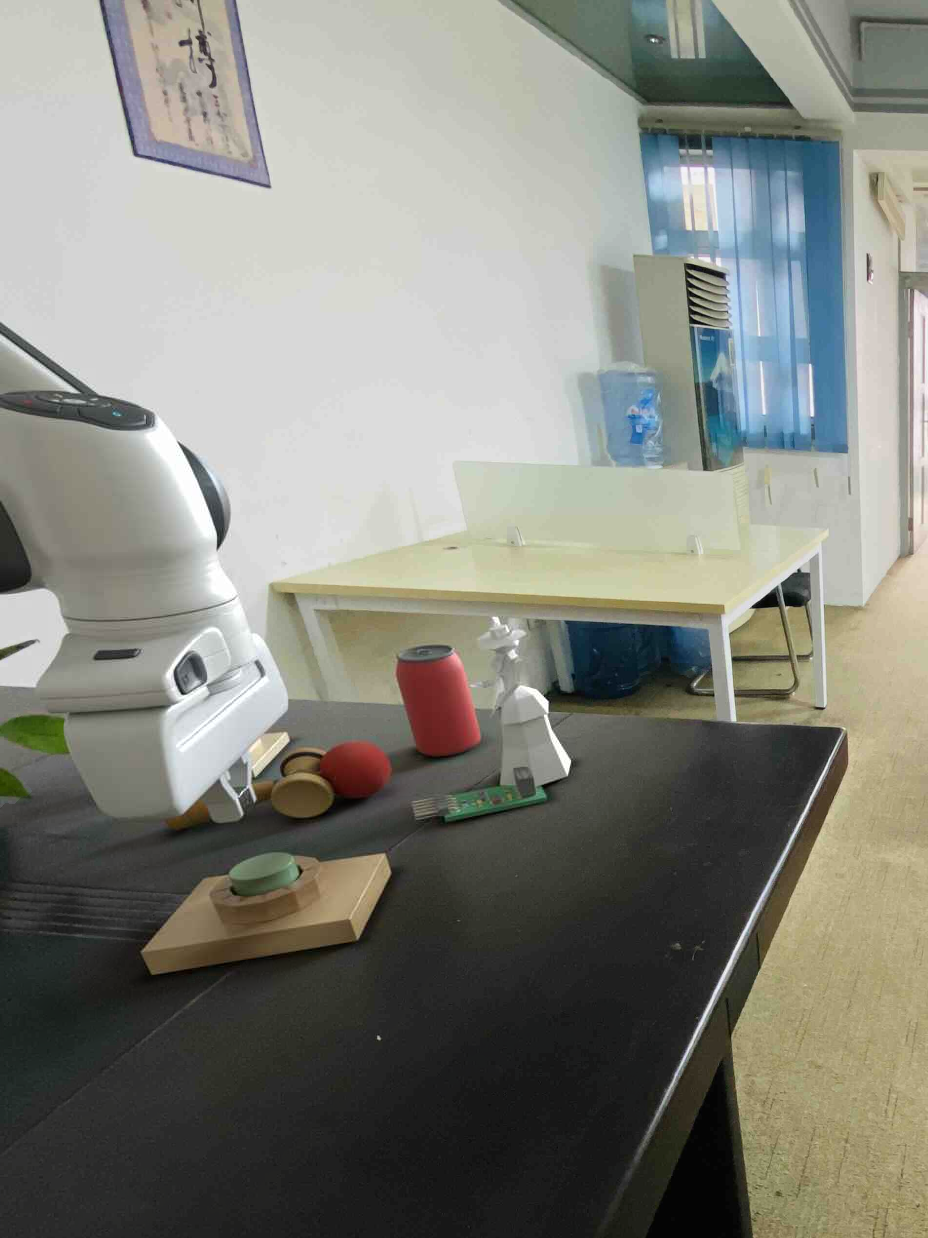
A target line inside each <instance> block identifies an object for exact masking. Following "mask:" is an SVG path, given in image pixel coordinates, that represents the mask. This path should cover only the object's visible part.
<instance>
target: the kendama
mask: <svg viewBox="0 0 928 1238" xmlns="http://www.w3.org/2000/svg"><path fill="white" fill-rule="evenodd" d="M392 770H393V769H392V766H391V762H390V760H389V758H388V756H387V754H386V753H385V752H384V751H383V750H382V749H381V748H380V747H378V746H376V745H374V744H372V743H370V742H366V741H347V742H342V743H339V744H338V745H335V746H333V747H332V748H330V749H329V750H327V751H325V750H323V749H320V748H317V747H310V746H309V747H298V748H295V749H293V750H290V751H289V752H287V753H286V754H285V755H284V756H283V757H282V759H281V761H280V764H279V772H280V775H281V776H282V778H279V779H274V780H269V781H263V782H256V783H251V785H252V788H253V791H254V793H255V796H256V802H255V803H254V804H253V805H252V806H251V807H253V806H256V805H259V804H261V803H264V802H266V801H269V800H270V801H271V804H272V807H273V808H274V809H275V810H276V811H277V812H279V813H280V814H282V815H284V816H287V817H291V818H296V819H309V818H313V817H316V816H320V815H322V814H323V813H325V812H326V811H328V810H329V808H330V807H331V806H332V804H333V801H334V797H335V795H336V796H339V797H342V798H345V799H362V798H366V797H369V796H372V795H374V794H376V793H378V792H379V791H381V790H382V789H383V788H384V787H385V786H386V785H387V783H388V782H389V780H390V778H391V776H392ZM163 820H164V822H165V823H166V824H167V826H168V827H169V828H170V829H171V830H173V831H174V832H175V831H176V832H178V831H181V830H185V829H186V828H189V827H193V826H195V825H198V824H201V823H204V822H207V821H210V820H212V819H211V816H210V814H209V812H208V809H207V807H206V805H205V804H204V803H202V802H201V801H200V800H199V799H198V800H197V801H196V802H195V803H194V804H193V805H192V806H191V807H190V808H189V809H188V810H187V811H186V812H185V813H184V814H182V815H181V816H178V817H175V818H169V819H163Z"/></svg>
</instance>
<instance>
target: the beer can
mask: <svg viewBox="0 0 928 1238" xmlns="http://www.w3.org/2000/svg"><path fill="white" fill-rule="evenodd" d="M395 657H396V659H397V661H396V662H397V663H396V666H395V667H396V668H395V678H396V681H397V685H398V687H399V692H400V694H401V699H402V702H403V705H404V709H405V713H406V716H407V720H408V723H409V726H410V730H411V733H412V737H413V741H414V744H415V747H416V750H417V751H418V752H419V753H421V754H422V755H425V756H429V757H449V756H456V755H458V754H462V753H465V752H468V751H470V750H472V749H473V748H476V746H478V744H479V743H480V742H481V739H482V735H481V731H480V727H479V722H478V718H477V714H476V711H475V706H474V703H473V698H472V694H471V690H470V685H469V683H468V678H467V674H466V670H465V665H464V663H463V661H462V660H461V659H460V657H459V656H458V655H457V653H456V652H455V648H454V647H453V646H451V645H446V644H426V645H425V644H423V645H419V646H413V647H409V648H405V649H403V650H401V651H400V652H398V653H397V654H396V656H395Z"/></svg>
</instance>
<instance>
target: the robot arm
mask: <svg viewBox="0 0 928 1238" xmlns="http://www.w3.org/2000/svg"><path fill="white" fill-rule="evenodd" d="M231 513H232V509H231V502H230V498H229V495H228V492H227V490H226V488H225V485H224V484H223V482H222V481H221V480H220V478H219V476H218V475H217V474H216V473H215V472H214V470H213V469H212V468H211V467H210V466H209V465H208V464H207V463H206V462H205V461H204V460H203V459H202V458H201V457H200V456H198V455H197V453H195V452H194V451H192V449H190V448H189V447H187V446H186V445H184V444H183V443H181V442H180V441H178V440H176V437H175V435H173V433H172V432H171V430H170V428H168V426H167V425H166V424H165V422H164V421H163V420H162V419H161V417H159V415H157V414H156V413H155V412H153V411H152V410H149V409H147V408H145V407H142V406H141V405H139V404H136V403H133V402H131V401H127V400H124V399H121V398H116V397H111V396H107V395H102V394H101V395H100V394H99V393H98V392H97V391H94V390H93V389H92V388H91V387H90V386H88V385H87V384H85V383H84V382H83V381H82V380H80V379H79V378H77V377H76V376H75V375H73V374H72V373H71V372H69V371H67V369H66V368H63V366H61V365H59V364H58V363H57V362H55V361H54V360H53V359H51V358H50V357H49V356H47V355H46V354H45V353H44V352H42V351H41V350H39V349H38V348H37V347H35V346H34V345H32V344H31V343H30V342H28V341H27V340H26V339H25V338H23V337H22V336H20V335H19V334H18V333H16V332H15V331H13V330H12V329H11V328H10V327H8V326H7V325H5V324H4V323H3V322H1V321H0V596H3V595H15V594H16V595H17V594H21V593H26V592H32V591H37V590H43V589H44V590H46V591H47V590H48V591H49V592H51V593H52V594H54V595H55V597H56V599H57V601H58V605H59V610H60V611H59V612H60V615H61V617H62V620H63V622H64V624H65V626H66V628H67V631H68V633H65V634H64V636H63V637H62V638H61V642H60V644H59V645H60V646H59V648H58V650H57V653H55V656H54V658H53V659H52V661H51V663H50V664H49V665H48V666H47V668H46V669H45V671H44V672H43V673H42V674H41V676H40V677H39V679H38V681H37V682H36V685H35V691H36V695H37V697H38V699H39V702H40V703H41V705H42V707H43V708H44V710H45V711H46V712H48V713H49V714H67V715H66V717H65V719H64V722H63V735H64V740H65V743H66V747H67V749H68V752H69V754H70V756H71V758H72V760H73V762H74V765H75V767H76V769H77V771H78V773H79V775H80V777H81V779H82V781H83V783H84V784H85V787H86V789H87V791H88V792H89V794H90V796H91V797H92V799H93V801H94V804H95V805H96V806H97V807H98V809H99V810H100V812H102V813H103V815H106V816H107V817H109V818H110V819H112V820H113V821H115V822H118V823H121V824H122V823H123V824H132V823H143V822H152V821H160V820H164V819H169V818H175V817H178V816H181V815H182V814H184V813H185V812H186V811H187V810H188V809H189V808H190V807H191V806H192V805H193V804H194V803H195V802H196V801H197V800H198V799H199V800H200V801H201V802H202V803H204V804H205V805H206V807H207V809H208V812H209V814H210V816H211V819H210V820H212V821H213V822H214V823H218V824H224V823H225V824H226V823H234V822H235V823H236V822H239V820H241V819H242V818H243V816H245V814H246V813H247V811H248V810H250V809H251V807H253V806H254V805H253V804H254V803H255V802H256V796H255V793H254V791H253V788H252V785H251V784H252V778H251V775H252V757H251V754H250V752H249V748H250V747H251V746H252V745H253V744H254V743H255V742H256V741H257V740H258V739H259V738H260V737H261V736H262V735H263V734H266V732H267V731H268V730H269V729H270V728H271V727H272V726H274V724H276V723H277V722H278V721H279V719H280V718H282V717H283V716H284V715H285V714H286V713H287V712H288V709H289V696H288V695H289V694H288V691H287V688H286V686H285V682H284V681H283V678H282V675H281V673H280V671H279V668H278V666H277V664H276V661H275V659H274V656H273V655H272V653H271V651H270V649H269V646H268V645H267V643H266V642H265V640H264V639H263V638H262V636H260V635H259V634H257V633H254V632H251V628H250V625H249V622H248V619H247V616H246V613H245V611H244V608H243V605H242V603H241V599H240V596H239V594H238V591H237V589H236V587H235V585H234V584H233V582H232V581H231V580H230V579H229V577H228V575H226V573H225V572H224V570H223V568H222V565H221V563H220V560H219V556H218V550H219V549H220V548H221V546H222V545H223V544H224V541H225V540H226V537H227V534H228V532H229V528H230V523H231V515H232V514H231ZM252 805H253V806H252Z"/></svg>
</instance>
